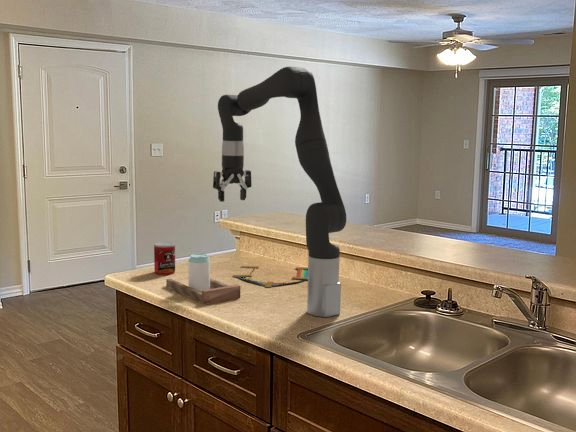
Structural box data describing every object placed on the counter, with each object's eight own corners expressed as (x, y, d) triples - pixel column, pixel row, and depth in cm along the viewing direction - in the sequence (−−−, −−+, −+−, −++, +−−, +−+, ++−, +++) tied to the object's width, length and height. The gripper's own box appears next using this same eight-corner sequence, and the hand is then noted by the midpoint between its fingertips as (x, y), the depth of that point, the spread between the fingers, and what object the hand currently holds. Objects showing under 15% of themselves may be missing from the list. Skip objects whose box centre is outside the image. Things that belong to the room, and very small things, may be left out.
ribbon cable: (308, 290, 210) (314, 269, 239) (308, 287, 210) (314, 266, 239) (224, 288, 213) (240, 267, 242) (224, 285, 213) (240, 264, 242)
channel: (240, 297, 199) (240, 285, 198) (205, 304, 191) (205, 291, 190) (199, 280, 219) (199, 269, 218) (166, 286, 211) (166, 274, 210)
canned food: (158, 276, 225) (158, 246, 223) (151, 271, 232) (151, 242, 230) (178, 273, 229) (178, 244, 227) (171, 269, 235) (170, 241, 234)
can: (214, 289, 207) (214, 255, 206) (200, 294, 202) (200, 258, 200) (198, 286, 211) (197, 252, 209) (184, 291, 205) (183, 255, 203)
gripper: (220, 155, 205) (220, 203, 208) (256, 154, 214) (255, 200, 216) (209, 153, 211) (209, 200, 213) (244, 153, 219) (243, 198, 222)
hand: (232, 200), depth 215 cm, fingers open, 8 cm apart
